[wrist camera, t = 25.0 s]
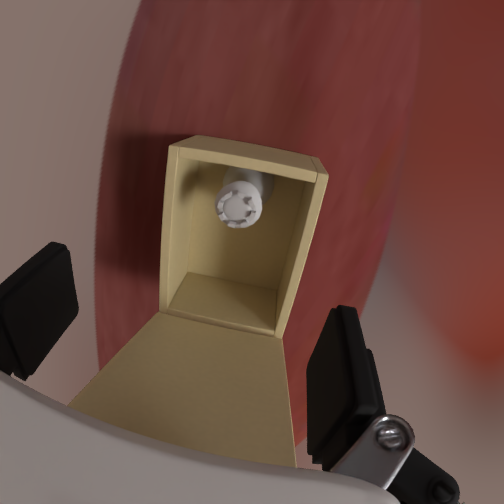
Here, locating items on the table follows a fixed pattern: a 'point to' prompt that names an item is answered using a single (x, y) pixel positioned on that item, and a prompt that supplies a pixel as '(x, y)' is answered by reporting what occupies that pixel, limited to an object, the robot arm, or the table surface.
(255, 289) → the chest
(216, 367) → the lid
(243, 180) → the rook chess piece
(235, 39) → the table surface
